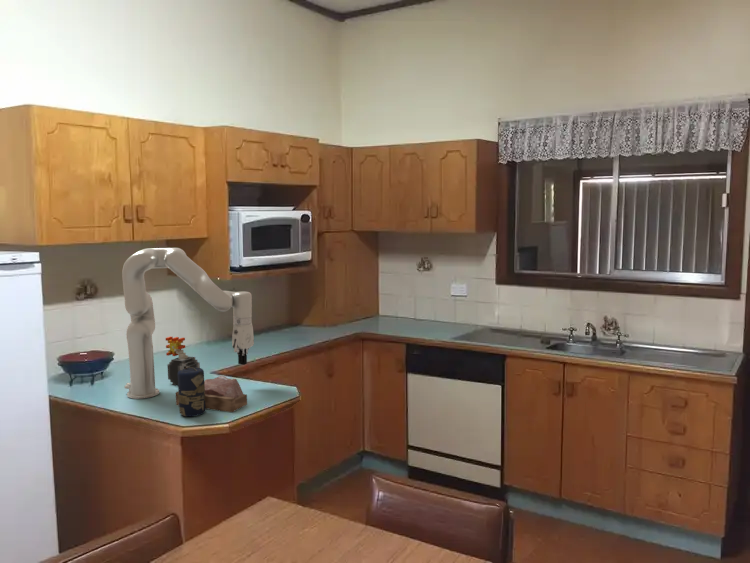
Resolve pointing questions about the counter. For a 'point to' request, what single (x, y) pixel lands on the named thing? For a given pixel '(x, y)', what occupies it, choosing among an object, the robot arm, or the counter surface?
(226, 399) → the stop cradle
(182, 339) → the bomb
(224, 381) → the stone
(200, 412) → the canister
